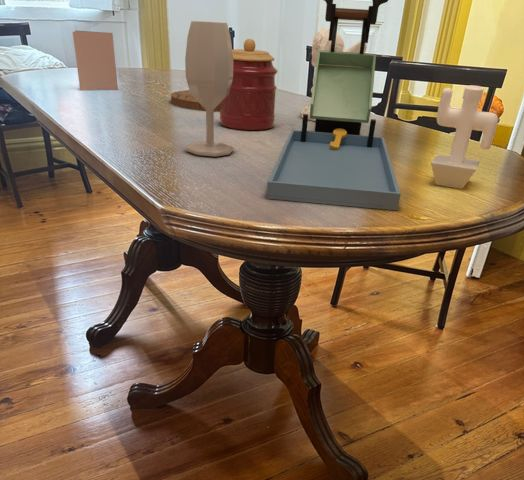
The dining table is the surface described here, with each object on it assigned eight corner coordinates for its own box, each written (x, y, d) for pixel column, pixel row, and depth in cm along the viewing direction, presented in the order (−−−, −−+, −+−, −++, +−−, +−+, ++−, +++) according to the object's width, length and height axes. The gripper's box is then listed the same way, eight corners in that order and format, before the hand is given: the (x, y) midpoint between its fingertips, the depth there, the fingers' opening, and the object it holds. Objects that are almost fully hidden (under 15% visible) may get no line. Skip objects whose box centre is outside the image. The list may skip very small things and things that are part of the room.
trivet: (228, 115, 132) (228, 106, 131) (152, 102, 142) (152, 95, 141) (274, 104, 150) (275, 97, 149) (205, 94, 160) (204, 87, 159)
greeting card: (118, 89, 160) (113, 32, 151) (110, 92, 154) (104, 33, 145) (83, 86, 160) (75, 30, 152) (73, 89, 154) (65, 31, 146)
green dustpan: (321, 33, 113) (323, 4, 107) (376, 36, 112) (381, 8, 106) (309, 118, 105) (311, 93, 99) (368, 123, 104) (373, 97, 98)
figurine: (477, 193, 84) (506, 92, 75) (419, 184, 87) (441, 85, 78) (480, 182, 89) (507, 87, 81) (425, 174, 92) (446, 81, 84)
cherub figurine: (328, 112, 143) (337, 28, 131) (359, 121, 134) (372, 31, 123) (290, 115, 136) (297, 26, 125) (320, 124, 128) (330, 29, 117)
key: (333, 130, 107) (334, 127, 106) (347, 132, 106) (347, 129, 106) (328, 149, 103) (328, 145, 102) (342, 150, 102) (342, 147, 102)
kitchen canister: (230, 131, 115) (231, 39, 105) (212, 120, 124) (212, 35, 115) (282, 130, 119) (289, 42, 109) (262, 119, 129) (265, 37, 119)
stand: (304, 131, 119) (307, 104, 116) (368, 136, 118) (373, 109, 115) (300, 144, 108) (303, 114, 105) (371, 150, 106) (376, 120, 103)
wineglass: (216, 160, 93) (216, 23, 82) (177, 152, 97) (172, 20, 85) (241, 151, 100) (244, 24, 88) (204, 144, 103) (202, 20, 91)
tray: (290, 142, 109) (291, 129, 107) (381, 149, 107) (383, 137, 106) (266, 198, 76) (267, 181, 75) (397, 210, 74) (400, 193, 73)
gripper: (416, -95, 99) (393, 43, 112) (314, -99, 101) (303, 37, 114) (421, -102, 93) (396, 45, 106) (312, -106, 94) (300, 39, 107)
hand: (348, 41), depth 110 cm, fingers closed on green dustpan, 7 cm apart
